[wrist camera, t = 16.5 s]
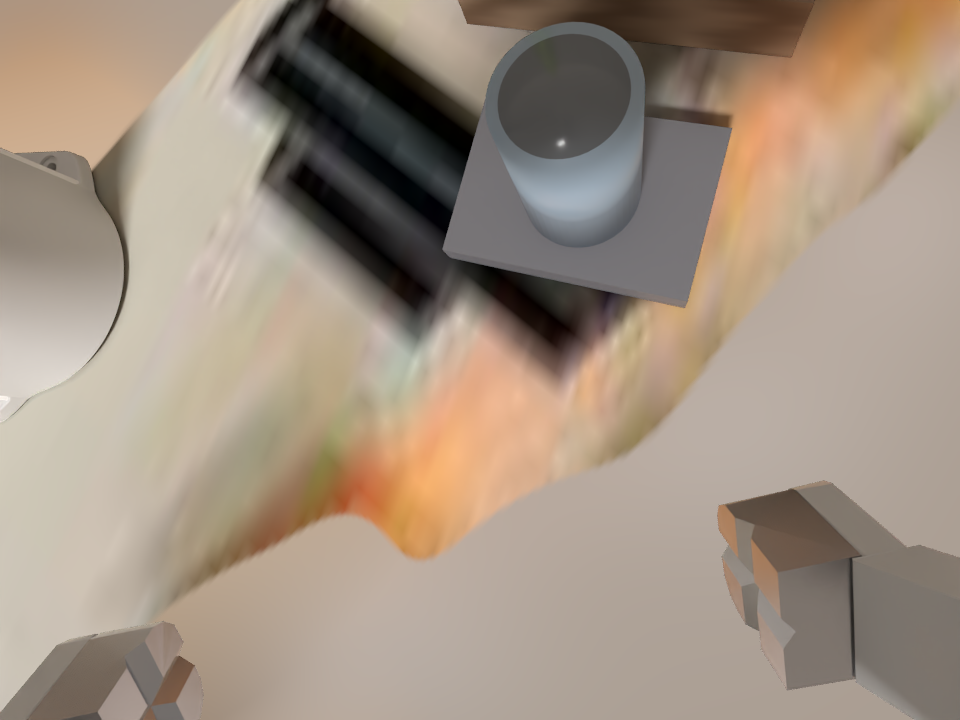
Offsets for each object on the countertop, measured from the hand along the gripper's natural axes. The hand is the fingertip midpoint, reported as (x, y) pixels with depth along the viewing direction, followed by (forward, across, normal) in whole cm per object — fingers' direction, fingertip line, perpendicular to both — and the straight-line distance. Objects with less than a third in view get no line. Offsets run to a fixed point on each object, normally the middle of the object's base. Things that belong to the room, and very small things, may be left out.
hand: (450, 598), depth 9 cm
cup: (+25, -7, -3) cm, 26 cm away
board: (+26, -8, -2) cm, 27 cm away
